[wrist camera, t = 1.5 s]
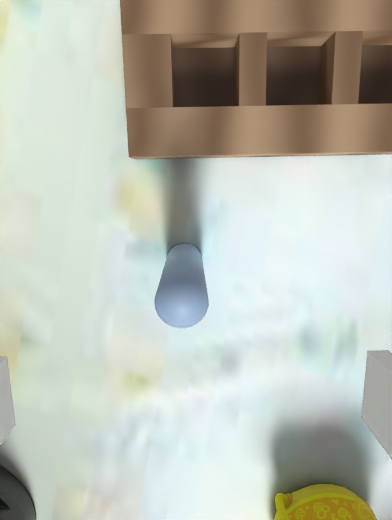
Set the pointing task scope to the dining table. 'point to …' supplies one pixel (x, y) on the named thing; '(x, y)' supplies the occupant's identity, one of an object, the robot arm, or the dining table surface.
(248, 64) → the hole block
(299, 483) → the dining table surface
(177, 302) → the peg
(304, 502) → the mug
